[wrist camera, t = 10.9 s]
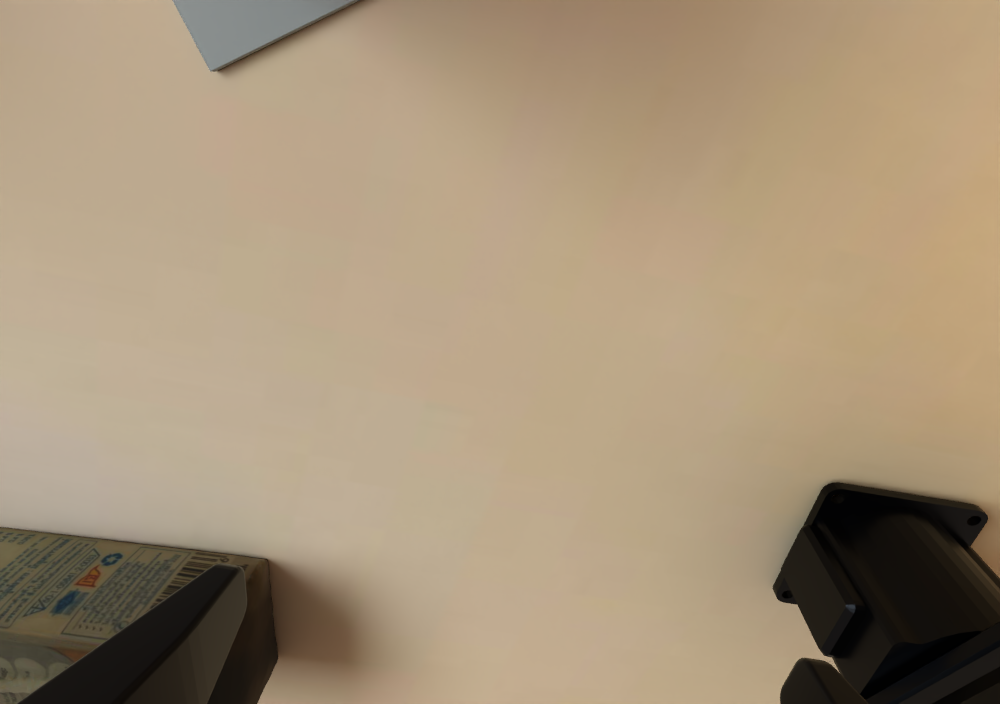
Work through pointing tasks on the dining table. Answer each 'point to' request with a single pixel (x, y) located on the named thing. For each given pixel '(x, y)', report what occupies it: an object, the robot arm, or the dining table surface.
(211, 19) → the coaster
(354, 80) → the dining table surface
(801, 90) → the dining table surface
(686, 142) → the dining table surface
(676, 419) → the dining table surface
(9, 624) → the beverage carton
